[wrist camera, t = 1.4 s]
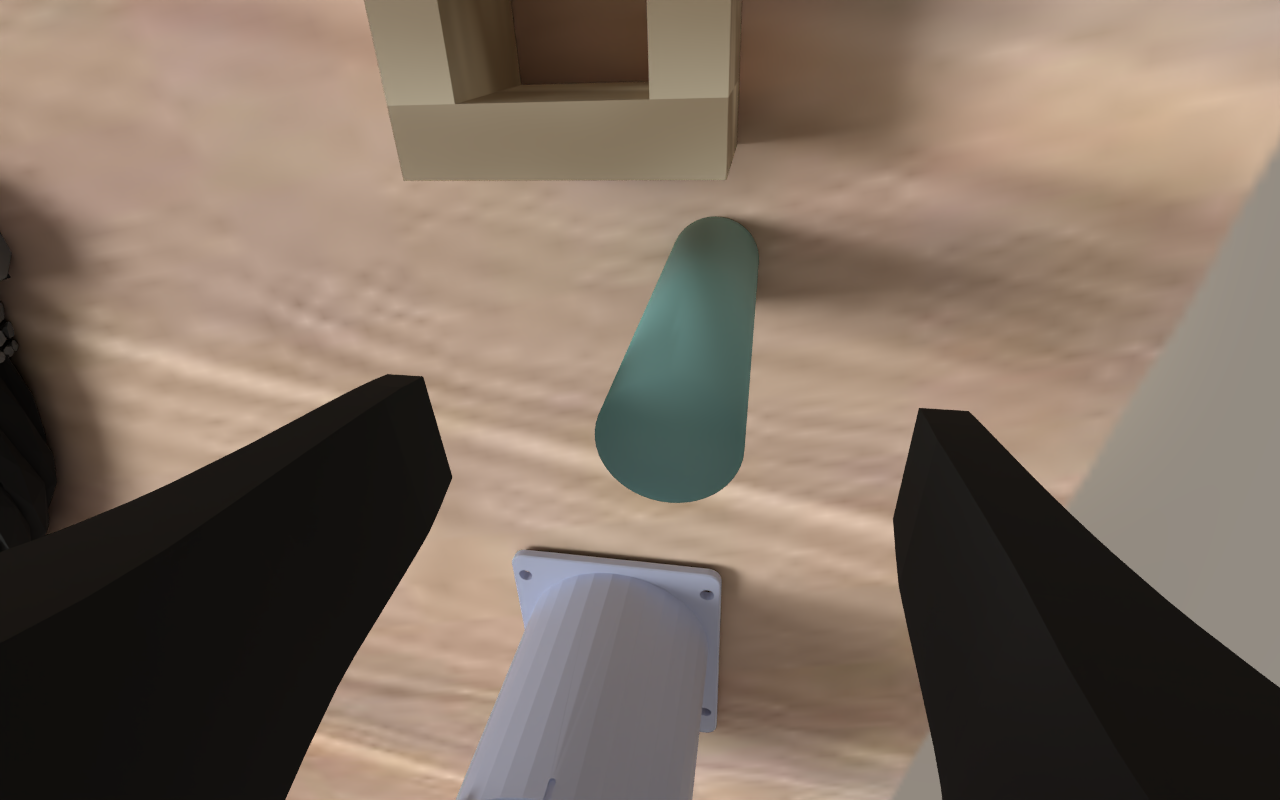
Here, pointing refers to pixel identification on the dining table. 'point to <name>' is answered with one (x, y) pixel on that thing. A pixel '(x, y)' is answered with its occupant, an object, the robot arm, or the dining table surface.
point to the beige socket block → (556, 97)
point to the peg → (687, 371)
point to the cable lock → (20, 446)
